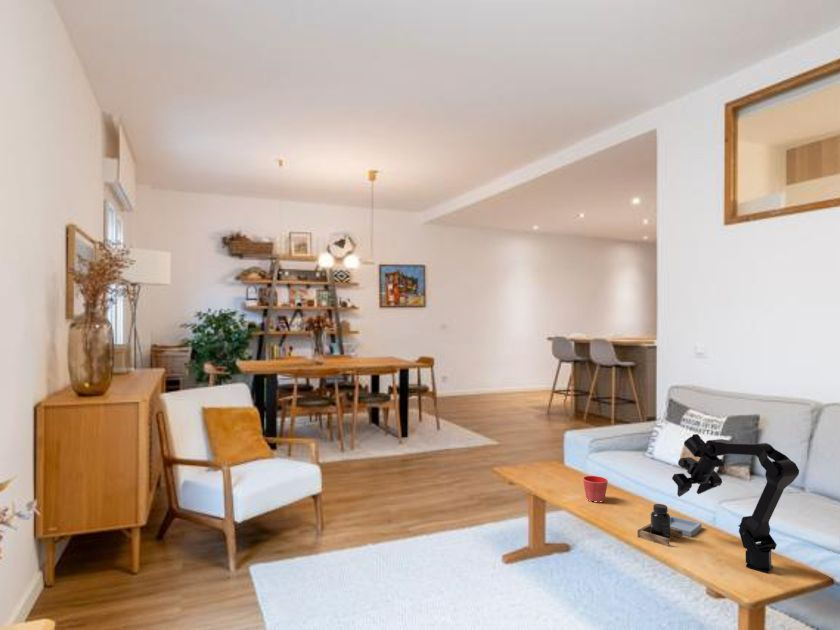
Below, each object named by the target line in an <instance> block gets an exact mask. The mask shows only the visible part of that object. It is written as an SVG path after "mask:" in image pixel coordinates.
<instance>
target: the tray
mask: <svg viewBox="0 0 840 630" xmlns="http://www.w3.org/2000/svg"><path fill="white" fill-rule="evenodd" d="M702 525H703V524H702V523H701V522H697V521H694V520H691V519H685V518H682V517H678V516H675V515H674V516H673V515H670V528H674V529H677V530H681V531H682V536H685V537H687V538H692V537H693V536H695V535H696V534H697V533H698V532H700V531H701V530H702V527H703V526H702Z"/></svg>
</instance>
